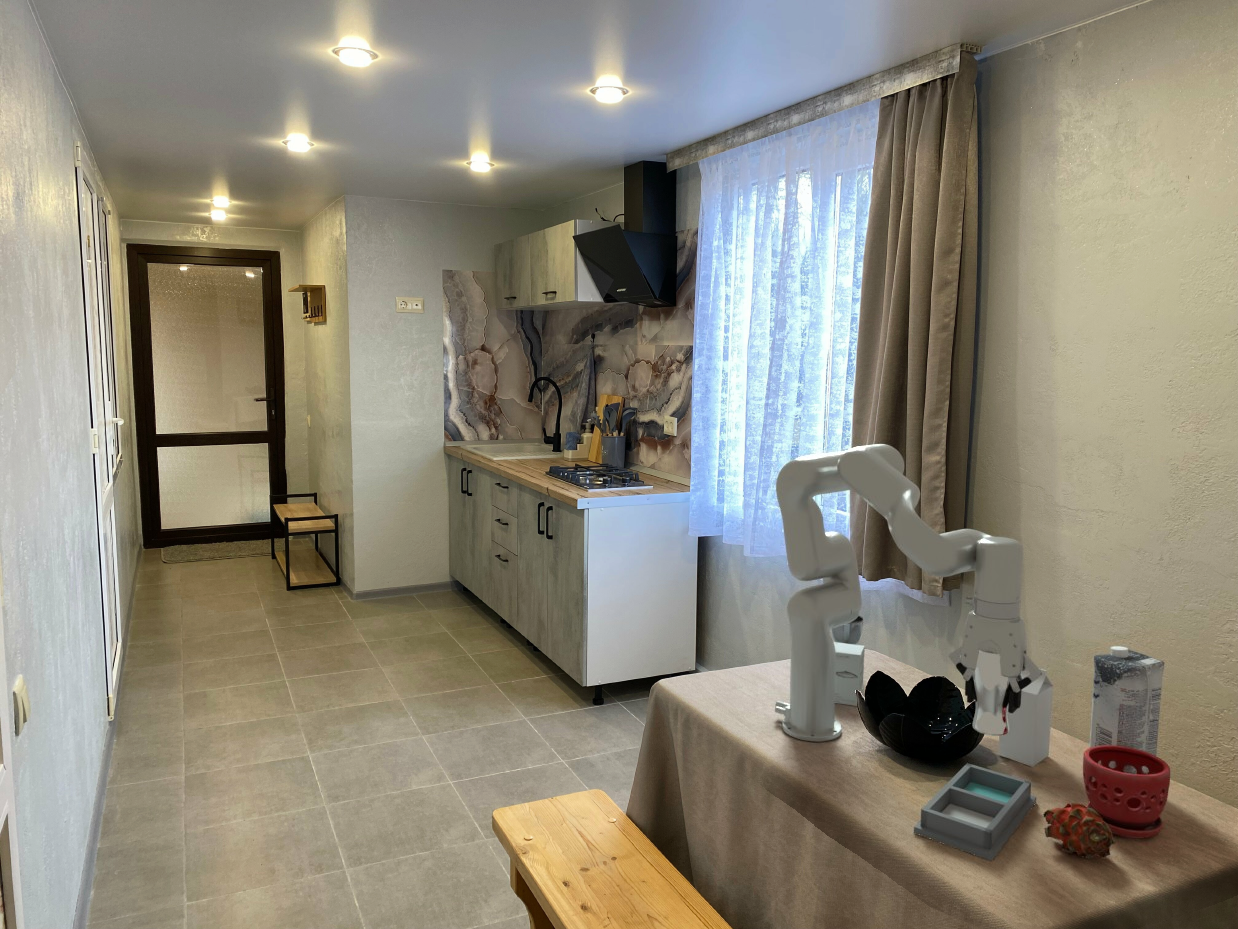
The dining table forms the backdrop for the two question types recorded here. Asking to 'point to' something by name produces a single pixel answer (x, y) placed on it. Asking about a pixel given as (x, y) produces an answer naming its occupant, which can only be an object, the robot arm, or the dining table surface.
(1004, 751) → the milk carton
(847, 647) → the supplement box
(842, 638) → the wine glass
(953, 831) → the gray divided sorting tray
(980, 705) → the silver metal cup
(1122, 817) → the plant pot
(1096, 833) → the dragon fruit
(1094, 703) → the juice carton
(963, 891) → the dining table surface
